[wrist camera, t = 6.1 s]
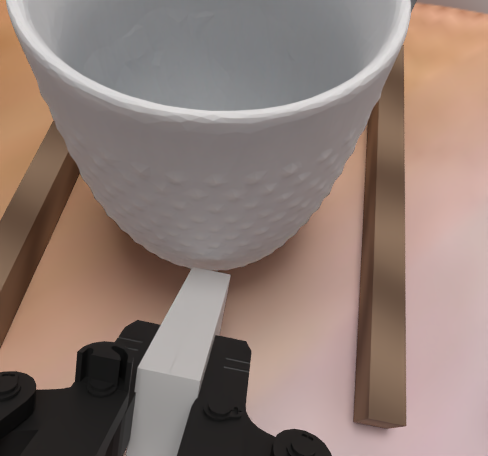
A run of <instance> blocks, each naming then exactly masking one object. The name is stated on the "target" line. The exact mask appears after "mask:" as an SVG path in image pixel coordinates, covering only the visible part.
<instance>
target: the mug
mask: <svg viewBox="0 0 488 456" xmlns="http://www.w3.org/2000/svg"><path fill="white" fill-rule="evenodd" d="M6 4H7V9H8V13H9V16H10V19H11V22H12V25H13V28H14V30H15V33H16V35H17V38H18V40H19V42H20V44H21V46H22V49H23V51H24V53H25V55H26V57H27V60H28V62H29V64H30V66H31V68H32V71H33V73H34V75H35V77H36V80H37V82H38V86H39V89H40V93H41V96H42V97H43V99H44V100H45V102H46V103H47V104H48V106H49V109H50V112H51V114H52V117H53V120H54V121H55V124H56V128H57V130H58V131H59V132H60V134H61V135H62V137H63V138H64V140H65V143H66V146H67V149H68V151H69V153H70V156H71V157H72V158H73V159H74V161H75V162H76V164H77V166H78V168H79V171H80V174H81V177H82V178H83V180H84V181H85V182H86V183H87V184H88V186H89V187H90V188H91V190H92V193H93V195H94V198H95V199H96V200H97V201H98V202H99V203H100V204H101V205H102V206H103V208H104V210H105V211H106V213H107V215H108V216H109V217H110V218H112V219H113V220H114V221H115V222H116V223H117V224H118V226H119V227H120V229H121V230H123V231H124V232H126V233H128V234H129V235H130V236H131V238H132V239H133V240H134V242H136V243H138V244H140V245H142V246H144V248H145V249H147V250H148V251H149V252H151V253H154V254H156V255H157V256H158V257H159V258H161V259H165V260H167V261H170V262H172V263H173V264H176V265H179V266H185V267H187V268H190V269H192V267H195V268H200V269H205V270H210V271H212V270H216V271H218V270H230V269H232V268H238V267H244V266H246V265H247V264H249V263H254V262H256V261H258V260H261V259H262V258H263V257H265V256H268V255H269V254H271V253H273V252H274V251H275V249H277V248H279V247H281V246H283V245H284V244H285V242H286V241H287V240H288V239H289V238H291V237H292V236H294V235H295V234H296V233H297V231H298V230H299V228H300V227H302V226H303V225H305V224H306V223H307V222H308V220H309V218H310V216H311V215H312V214H313V213H314V212H315V211H317V210H318V209H319V207H320V205H321V203H322V201H323V199H324V198H325V197H326V196H328V195H329V194H330V191H331V188H332V186H333V184H334V182H335V180H336V179H337V178H338V177H339V176H340V175H341V173H342V171H343V168H344V165H345V163H346V161H347V160H348V158H349V157H350V156H351V155H352V153H353V152H354V149H355V145H356V143H357V140H358V138H359V136H360V135H361V134H362V132H363V131H364V129H365V127H366V125H367V122H368V120H369V117H370V114H371V111H372V109H373V107H374V106H375V105H376V103H377V102H378V100H379V99H380V97H381V92H382V89H383V86H384V84H385V82H386V80H387V77H388V75H389V73H390V71H391V69H392V67H393V65H394V63H395V60H396V58H397V56H398V54H399V52H400V49H401V47H402V45H403V43H404V40H405V37H406V34H407V31H408V26H409V21H410V17H411V1H410V0H6Z"/></svg>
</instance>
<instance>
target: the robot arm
mask: <svg viewBox="0 0 488 456" xmlns="http://www.w3.org/2000/svg"><path fill="white" fill-rule="evenodd" d="M230 277H231V275H230V274H225V273H220V272H215V271H210V270H205V269H200V268H195V267H192V269H191V271H190V273H189V274H188V276H187V278H186V280H185V282H184V284H183V285H182V287H181V289H180V291H179V293H178V295H177V296H176V298H175V300H174V302H173V304H172V306H171V307H170V309H169V311H168V313H167V315H166V317H165V318H164V320H163V322H162V324H161V325H159V324H154V323H149V322H144V321H139V320H137V321H135V322H133V323H132V324H130V325H128V326H126V327H125V328H124V330H123V331H122V333H121V334H120V335H119V338H117V340H116V341H115V342H105V341H104V342H96V343H92V344H89V345H86V346H84V347H83V348H81V349H80V350H79V351H78V352H77V363H76V375H75V382H74V383H73V385H72V386H71V387H69V388H64V389H50V390H36V383H35V381H34V379H33V378H32V377H30V376H29V375H27V374H25V373H21V372H17V371H13V372H0V456H123V454H124V452H125V450H126V448H127V453H126V456H332V455H331V453H330V451H329V450H328V448H327V447H326V445H325V443H323V442H322V441H321V440H320V439H319V438H318V437H316V436H315V435H313V434H311V433H309V432H306V431H303V430H298V429H290V430H284V431H282V432H281V433H279V434H277V436H276V437H274V436H272V435H270V434H268V433H266V432H264V431H263V430H261V429H260V428H258V427H257V426H256V425H255V424H254V423H253V422H252V421H251V420H250V418H249V417H248V415H247V412H246V396H247V387H248V378H249V369H250V360H251V350H250V348H249V346H248V344H247V342H246V341H242V340H237V339H232V338H228V337H223V336H219V335H220V330H221V325H222V319H223V314H224V309H225V304H226V298H227V293H228V288H229V282H230Z"/></svg>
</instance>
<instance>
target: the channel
mask: <svg viewBox="0 0 488 456" xmlns="http://www.w3.org/2000/svg"><path fill="white" fill-rule="evenodd" d="M79 173H80V171H79V168H78V166H77V164H76V162H75V161H74V159H73V158H72V157H71V156H70V153H69V151H68V149H67V146H66V143H65V140H64V138H63V137H62V135H61V134H60V132H59V131H58V130H57V128H56V124H55V121H53V123H52V125H51V126H50V128H49V130H48V132H47V134H46V136H45V138H44V140H43V142H42V143H41V145H40V147H39V149H38V151H37V153H36V155H35V157H34V158H33V160H32V162H31V164H30V166H29V168H28V170H27V172H26V174H25V175H24V177H23V179H22V181H21V183H20V185H19V187H18V189H17V190H16V192H15V194H14V196H13V198H12V200H11V202H10V204H9V206H8V207H7V209H6V211H5V213H4V215H3V217H2V219H1V221H0V347H1V345H2V342H3V340H4V338H5V336H6V334H7V331H8V329H9V327H10V325H11V323H12V320H13V318H14V316H15V314H16V312H17V309H18V307H19V305H20V303H21V301H22V298H23V296H24V294H25V292H26V290H27V287H28V285H29V283H30V281H31V279H32V276H33V274H34V272H35V270H36V268H37V265H38V263H39V261H40V259H41V257H42V254H43V252H44V250H45V248H46V246H47V243H48V241H49V239H50V237H51V235H52V232H53V230H54V228H55V226H56V224H57V221H58V219H59V217H60V215H61V213H62V210H63V208H64V206H65V204H66V202H67V199H68V197H69V195H70V193H71V191H72V188H73V186H74V184H75V182H76V180H77V177H78V175H79ZM353 422H357V423H362V424H367V425H372V426H377V427H382V428H387V429H389V428H396V427H403V426H406V318H405V169H404V45H402V47H401V49H400V52H399V54H398V56H397V58H396V60H395V63H394V65H393V67H392V69H391V71H390V73H389V75H388V77H387V80H386V82H385V84H384V86H383V89H382V92H381V97H380V99H379V100H378V102H377V103H376V105H375V106H374V107H373V109H372V111H371V114H370V117H369V120H368V133H367V154H366V174H365V195H364V216H363V236H362V257H361V277H360V298H359V318H358V339H357V360H356V380H355V401H354V421H353Z"/></svg>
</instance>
